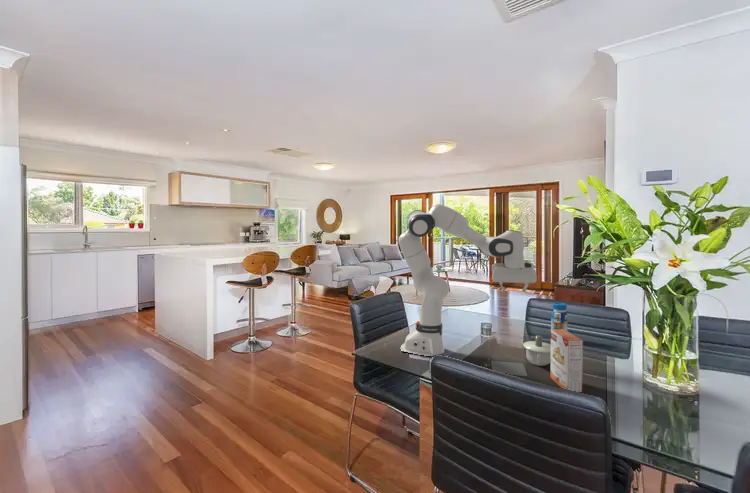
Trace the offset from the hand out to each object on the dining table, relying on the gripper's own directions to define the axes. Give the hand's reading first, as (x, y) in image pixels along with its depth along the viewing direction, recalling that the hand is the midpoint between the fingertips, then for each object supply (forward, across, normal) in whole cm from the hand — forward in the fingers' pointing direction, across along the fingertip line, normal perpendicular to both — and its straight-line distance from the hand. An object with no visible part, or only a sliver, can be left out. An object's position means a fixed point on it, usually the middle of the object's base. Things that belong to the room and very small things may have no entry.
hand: (513, 291), depth 172 cm
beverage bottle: (+31, +27, +29) cm, 51 cm away
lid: (+23, +10, -12) cm, 28 cm away
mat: (+31, -4, -20) cm, 37 cm away
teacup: (+31, +10, -12) cm, 35 cm away
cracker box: (+31, +16, -32) cm, 48 cm away
